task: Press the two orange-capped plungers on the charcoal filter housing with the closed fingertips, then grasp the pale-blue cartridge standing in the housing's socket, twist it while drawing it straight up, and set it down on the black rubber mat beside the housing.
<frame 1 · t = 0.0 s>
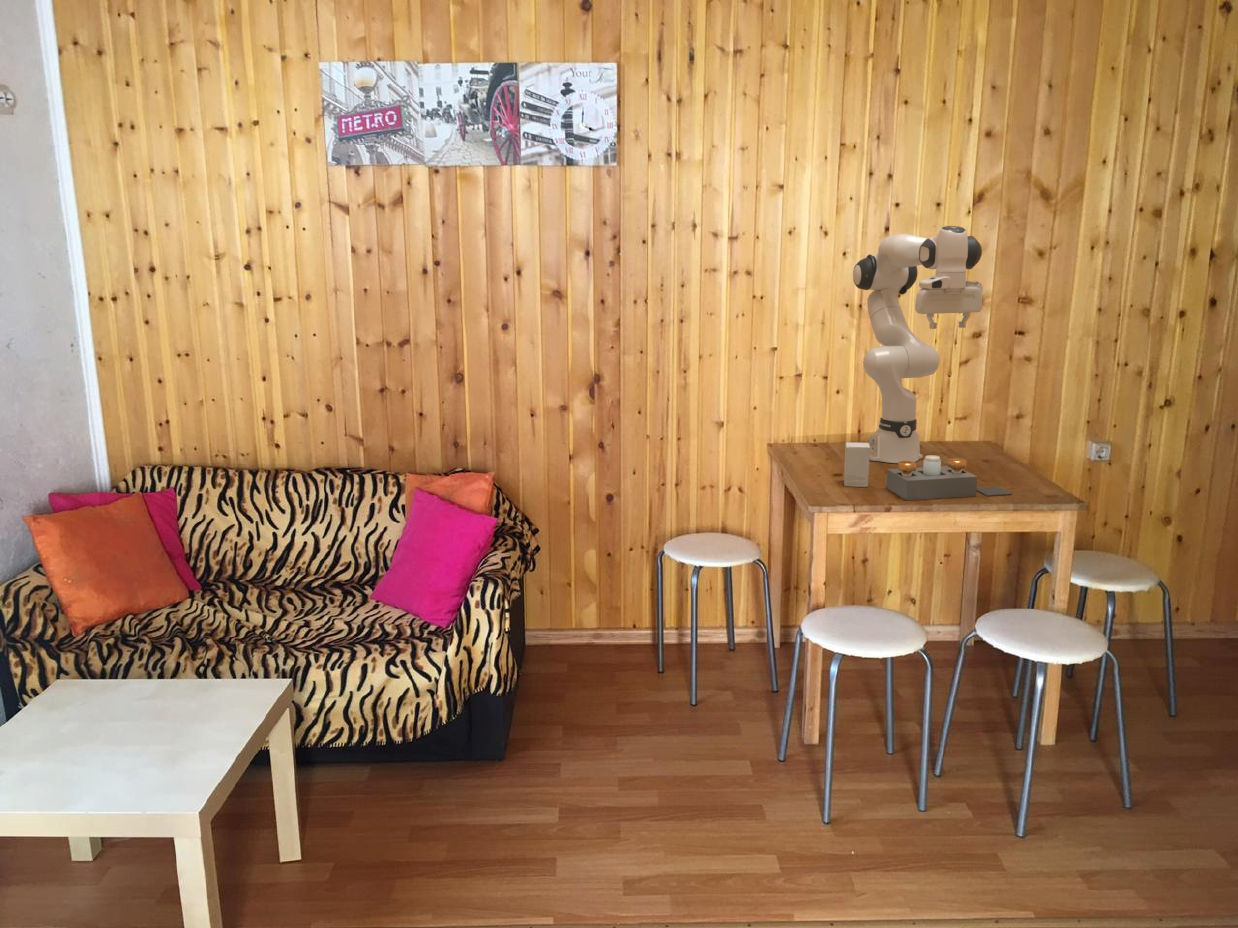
hand: (947, 328, 306), 48 cm above the table, fingers open, 8 cm apart
plunger 1: (906, 475, 303), point 6 cm above the table, slide at 0.0 cm
supplement box: (855, 484, 316), on the table
mat: (992, 492, 304), on the table
housing: (930, 492, 305), on the table
cartridge: (931, 474, 304), in the housing
plunger 2: (956, 472, 305), point 6 cm above the table, slide at 0.0 cm
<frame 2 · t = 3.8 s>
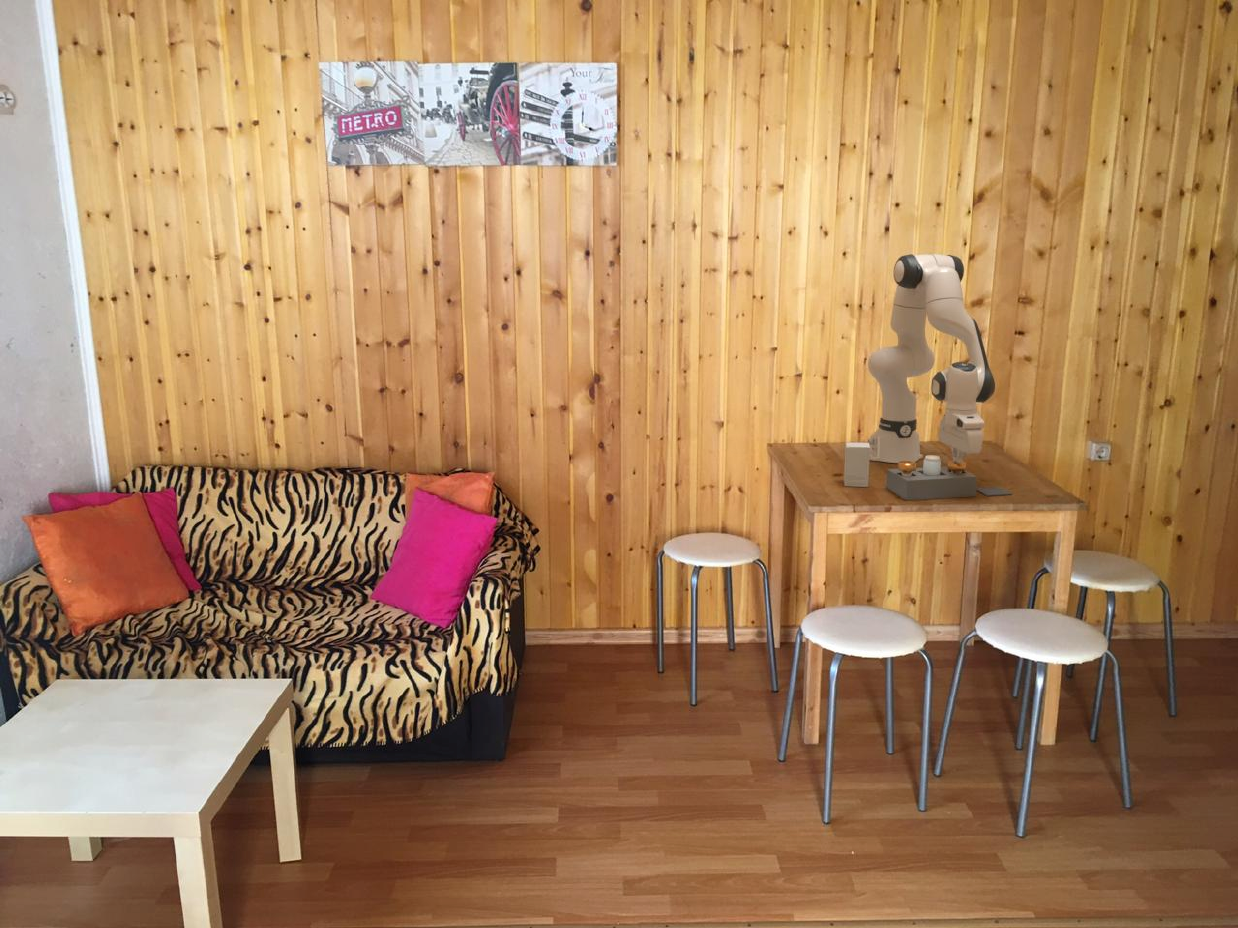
hand: (957, 462, 304), 9 cm above the table, fingers closed, pressing on plunger 2
plunger 2: (956, 474, 305), point 5 cm above the table, slide at 0.8 cm, touching gripper
everything else where it was.
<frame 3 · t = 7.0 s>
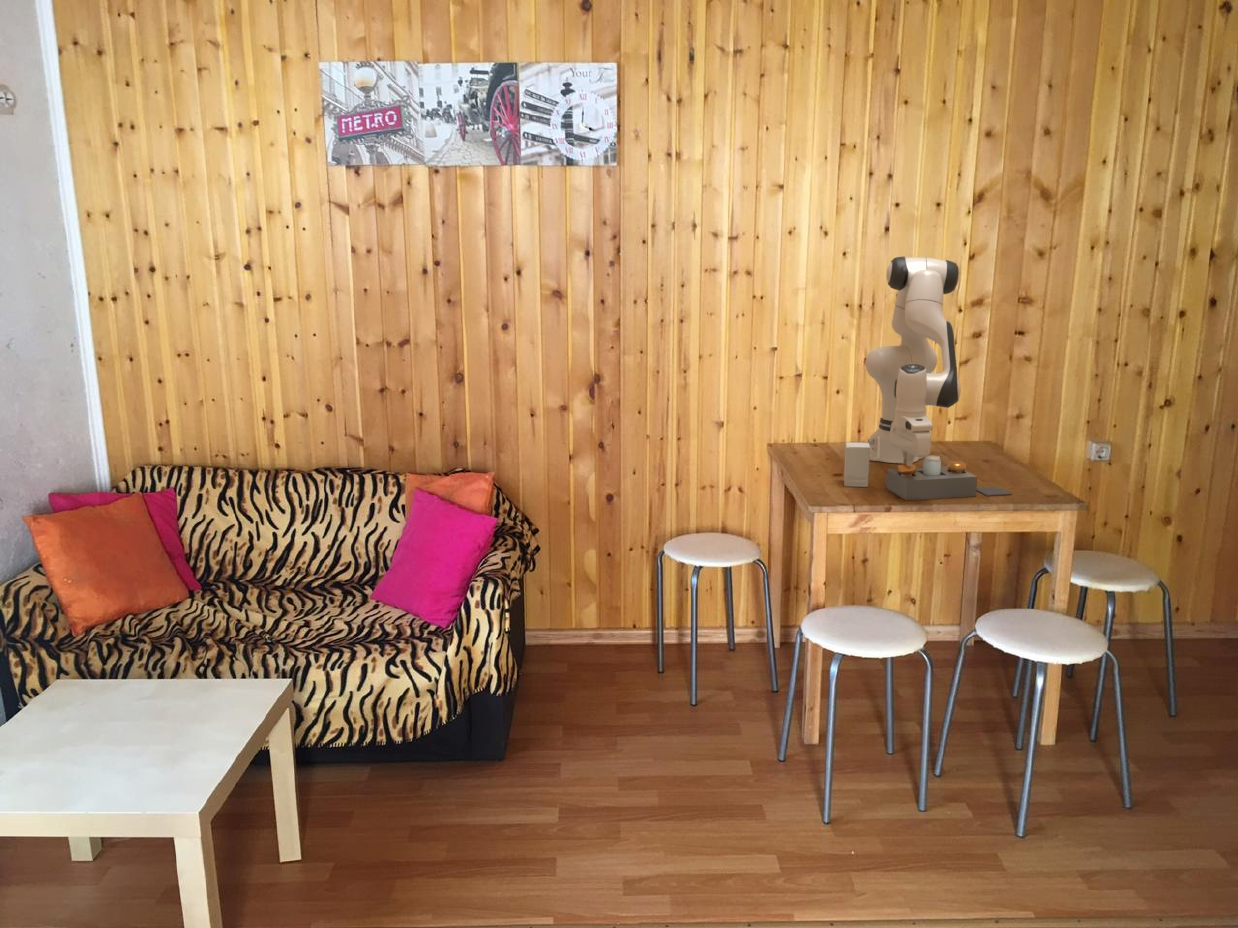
hand: (907, 465, 302), 9 cm above the table, fingers closed, pressing on plunger 1
plunger 1: (906, 477, 303), point 5 cm above the table, slide at 0.8 cm, touching gripper
plunger 2: (956, 475, 305), point 5 cm above the table, slide at 0.9 cm
everything else where it was.
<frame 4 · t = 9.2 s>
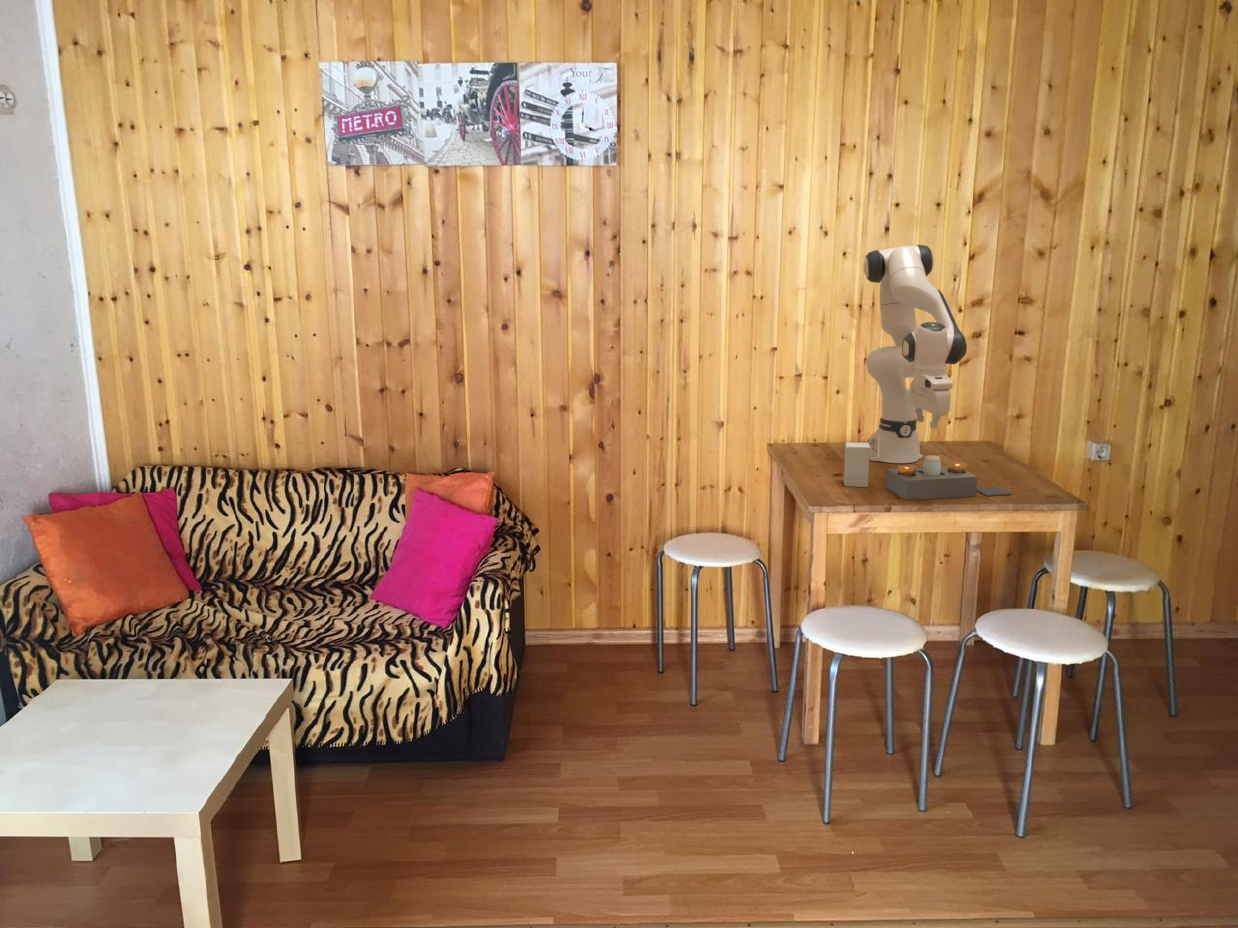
hand: (926, 424, 300), 21 cm above the table, fingers open, 8 cm apart
plunger 1: (906, 478, 303), point 5 cm above the table, slide at 1.0 cm
everything else where it was.
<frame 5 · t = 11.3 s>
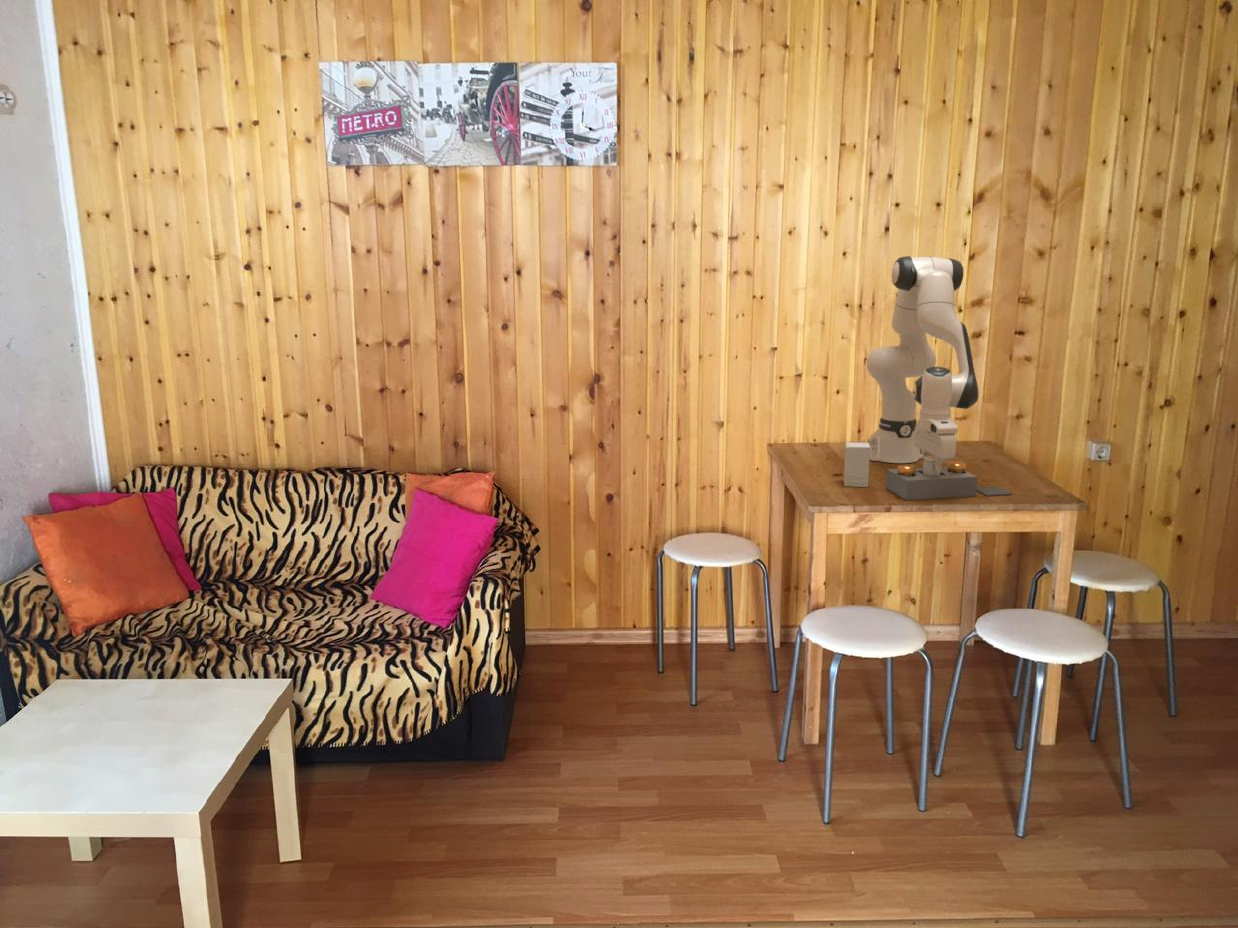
hand: (932, 467, 303), 8 cm above the table, fingers closed on cartridge, 5 cm apart
cartridge: (931, 474, 304), in the housing, touching gripper
everything else where it was.
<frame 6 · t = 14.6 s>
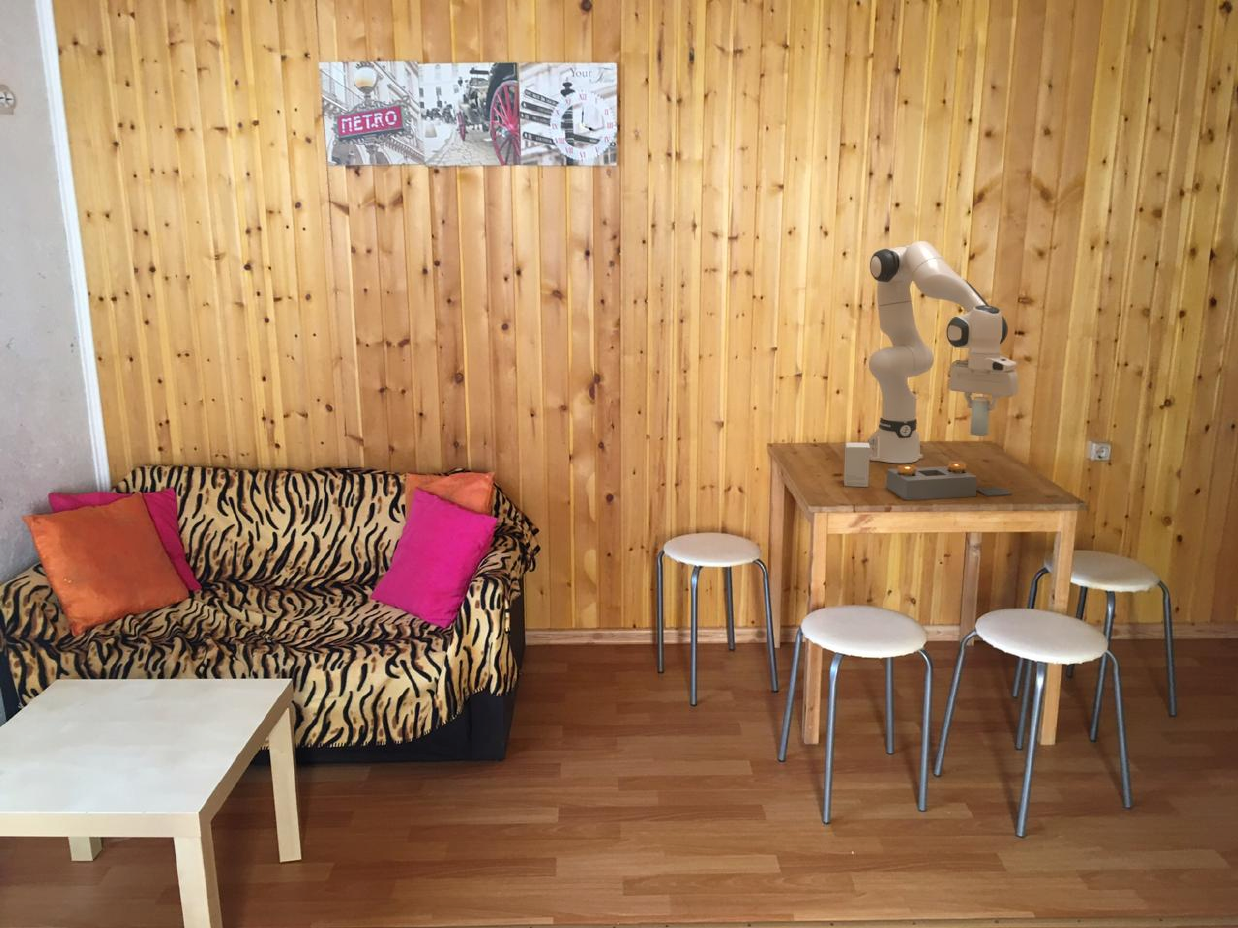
hand: (981, 408, 298), 26 cm above the table, fingers closed on cartridge, 5 cm apart
cartridge: (980, 416, 299), point 23 cm above the table, touching gripper
everything else where it was.
when the fingers open (10 cm above the table, at t = 17.8 s): cartridge drops 1 cm, resting on mat.
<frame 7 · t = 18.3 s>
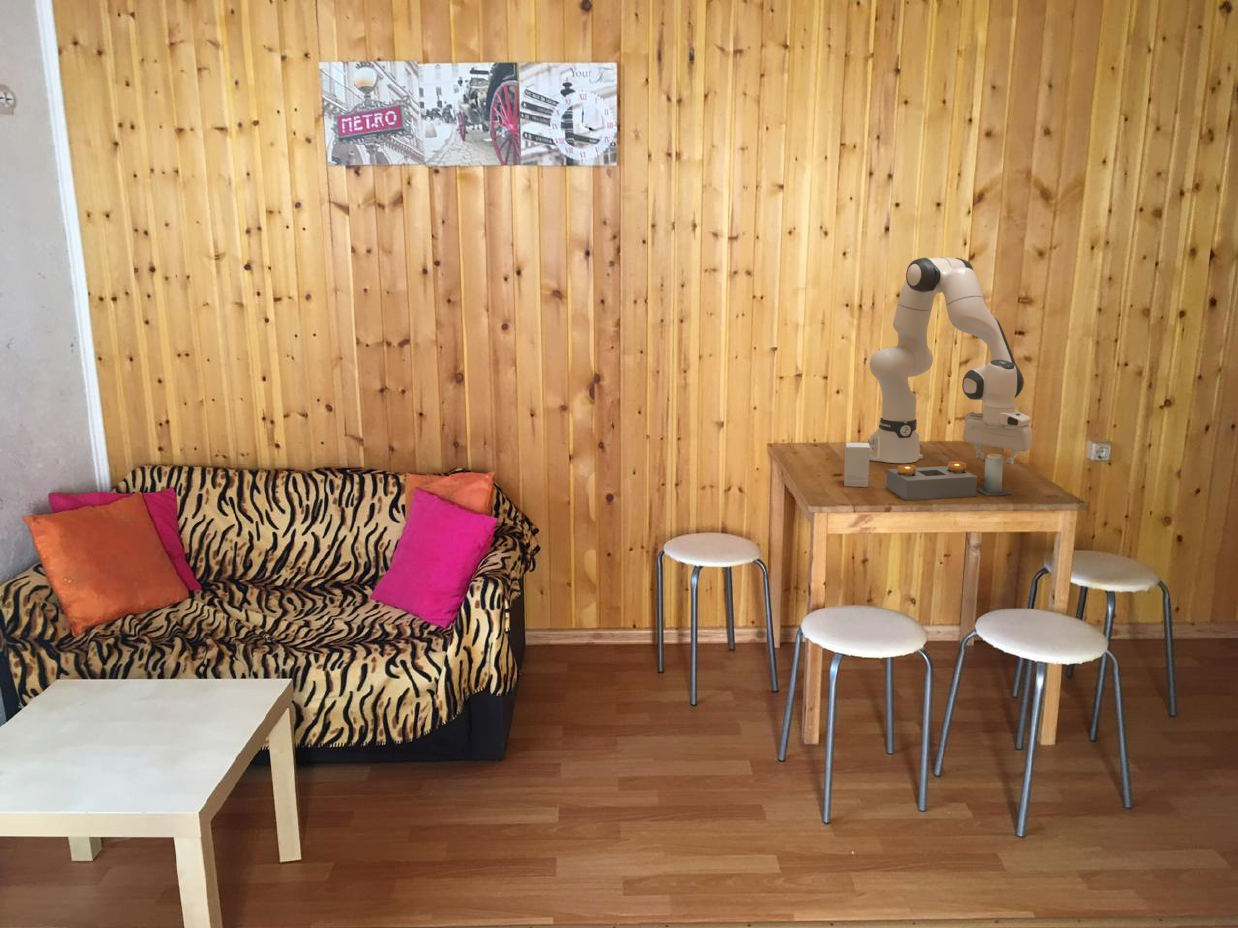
hand: (994, 461, 302), 10 cm above the table, fingers open, 8 cm apart
cartridge: (993, 473, 303), on the mat
everything else where it was.
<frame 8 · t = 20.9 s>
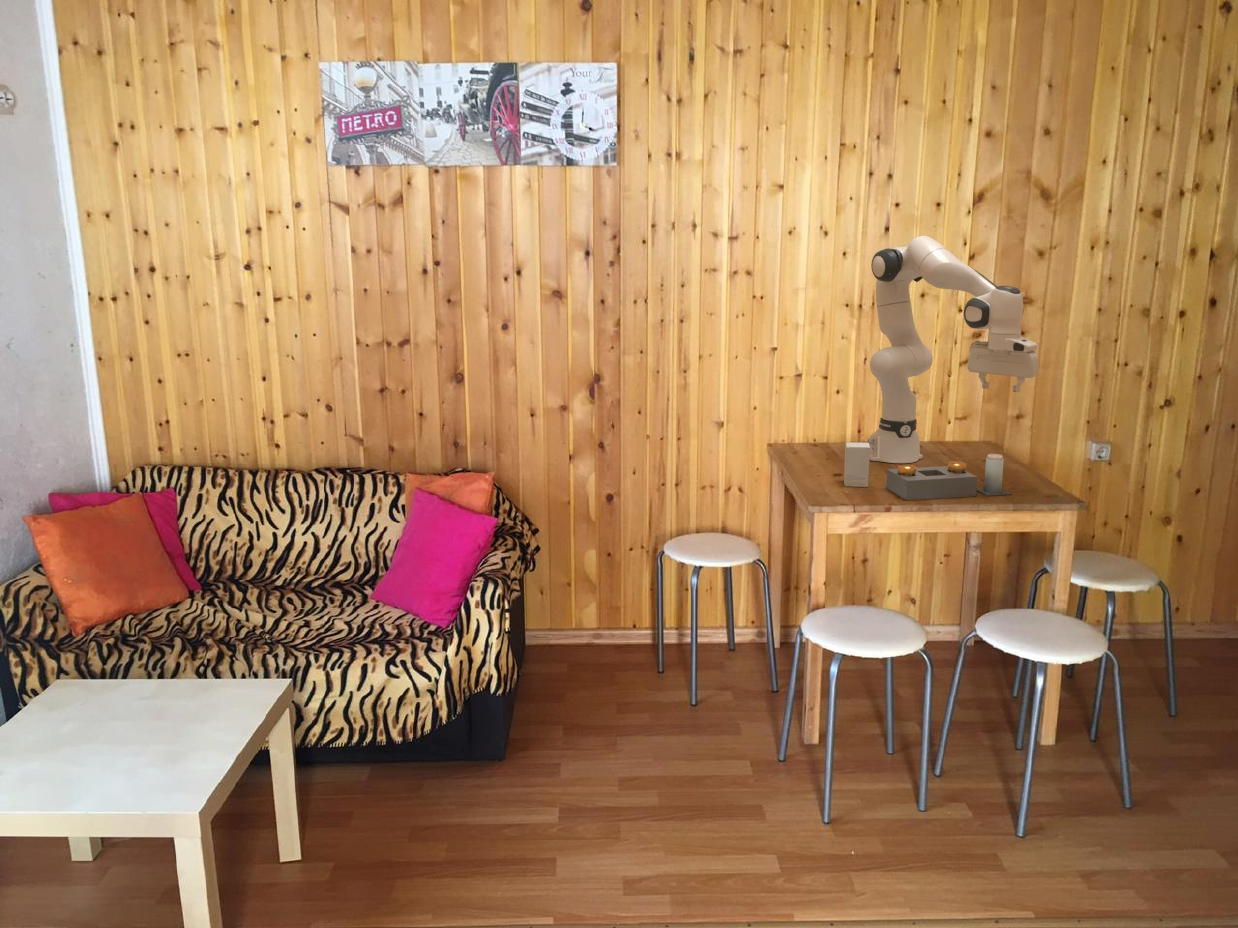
hand: (1000, 390, 297), 31 cm above the table, fingers open, 8 cm apart
nothing on the table moved.
at the end: cartridge inside the target area on the mat (0.1 cm from its centre), point 5.9 cm above the mat's base; plunger 2 slide at 0.9 cm; plunger 1 slide at 1.0 cm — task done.
